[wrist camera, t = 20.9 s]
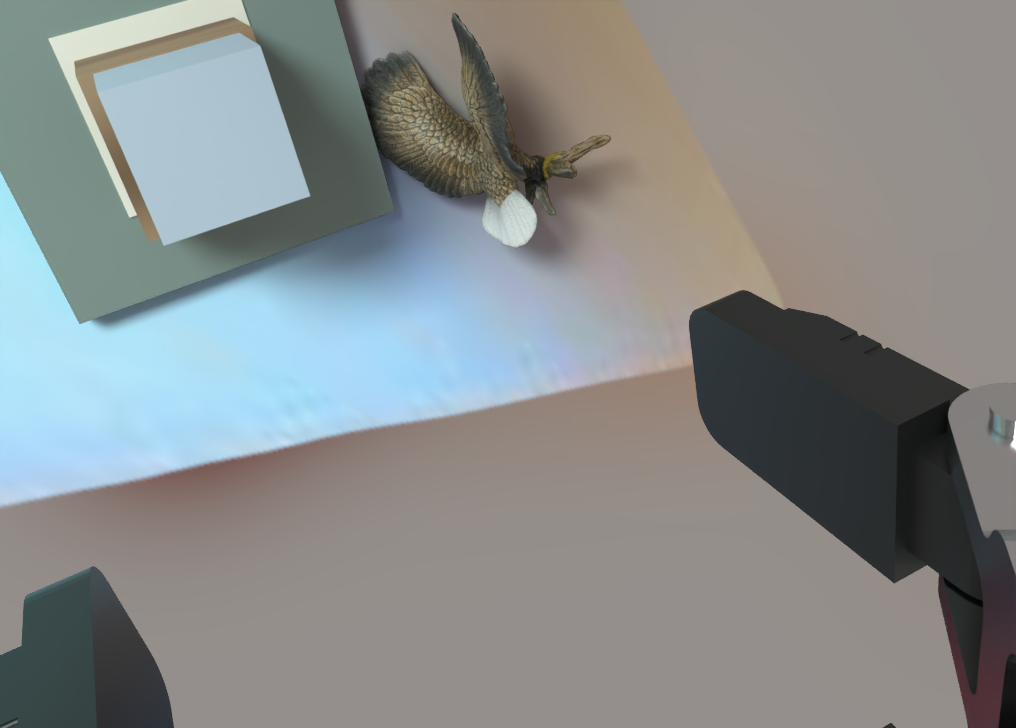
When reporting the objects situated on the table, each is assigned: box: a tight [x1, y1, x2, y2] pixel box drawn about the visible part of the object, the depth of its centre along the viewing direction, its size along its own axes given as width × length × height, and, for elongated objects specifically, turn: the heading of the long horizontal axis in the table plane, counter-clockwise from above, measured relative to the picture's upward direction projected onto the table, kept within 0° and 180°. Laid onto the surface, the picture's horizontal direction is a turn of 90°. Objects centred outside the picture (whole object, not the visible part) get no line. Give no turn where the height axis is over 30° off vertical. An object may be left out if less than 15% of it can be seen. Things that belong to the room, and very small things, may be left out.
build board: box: [0, 0, 395, 324], centre depth 36 cm, size 14×14×1 cm
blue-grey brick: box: [93, 33, 310, 246], centre depth 30 cm, size 5×5×4 cm
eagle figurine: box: [362, 13, 611, 248], centre depth 39 cm, size 8×7×9 cm
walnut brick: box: [74, 17, 257, 241], centre depth 34 cm, size 6×6×4 cm
